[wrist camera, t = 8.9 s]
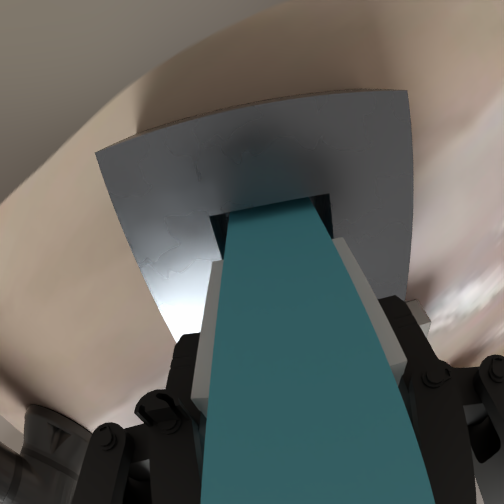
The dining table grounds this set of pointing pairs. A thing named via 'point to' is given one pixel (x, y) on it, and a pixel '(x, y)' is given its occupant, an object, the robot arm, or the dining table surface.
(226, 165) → the port
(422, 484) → the plug
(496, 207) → the dining table surface
